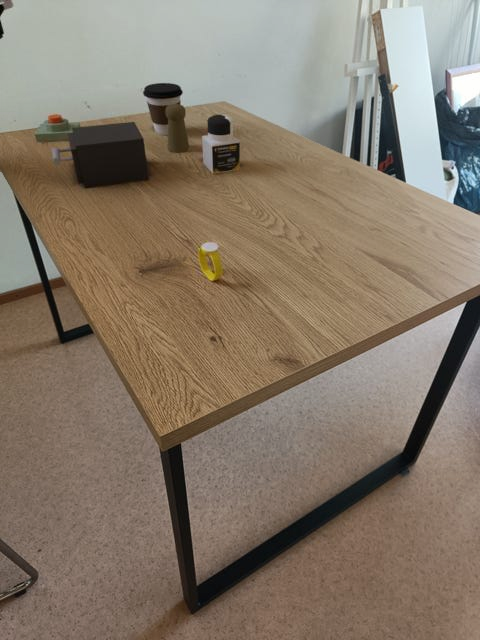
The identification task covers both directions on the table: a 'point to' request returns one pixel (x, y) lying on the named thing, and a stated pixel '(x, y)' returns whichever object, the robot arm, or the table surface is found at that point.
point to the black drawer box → (111, 154)
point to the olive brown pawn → (176, 128)
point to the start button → (55, 119)
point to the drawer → (58, 160)
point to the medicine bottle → (221, 145)
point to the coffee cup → (161, 103)
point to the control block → (55, 131)
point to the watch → (212, 250)
